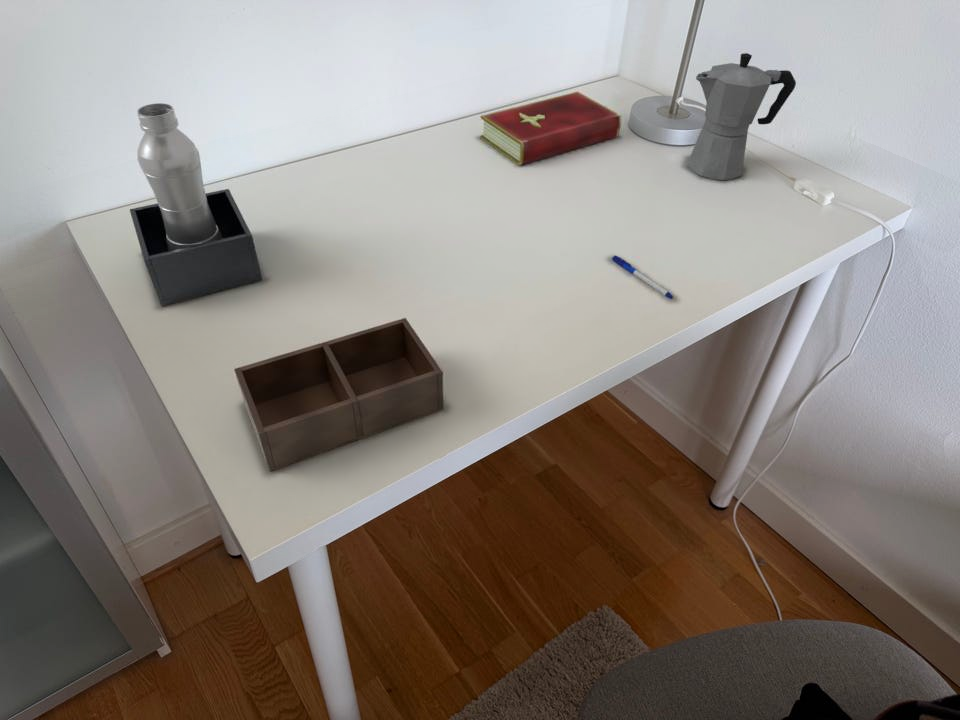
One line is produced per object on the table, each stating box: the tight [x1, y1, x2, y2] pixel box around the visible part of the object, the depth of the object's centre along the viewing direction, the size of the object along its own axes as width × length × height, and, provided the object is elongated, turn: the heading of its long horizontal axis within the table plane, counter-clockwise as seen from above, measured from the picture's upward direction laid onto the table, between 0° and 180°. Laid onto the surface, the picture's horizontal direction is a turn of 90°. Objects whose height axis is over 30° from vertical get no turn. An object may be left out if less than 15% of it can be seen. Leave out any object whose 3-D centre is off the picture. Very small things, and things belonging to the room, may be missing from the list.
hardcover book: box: [479, 91, 622, 167], centre depth 117 cm, size 12×21×4 cm, turn 123°
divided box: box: [233, 317, 444, 472], centre depth 69 cm, size 18×9×5 cm, turn 118°
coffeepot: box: [686, 52, 797, 181], centre depth 106 cm, size 15×9×18 cm, turn 93°
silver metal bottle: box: [136, 102, 223, 251], centre depth 81 cm, size 6×7×20 cm
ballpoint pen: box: [611, 255, 674, 299], centre depth 89 cm, size 10×1×1 cm, turn 38°
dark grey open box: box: [129, 188, 263, 307], centre depth 86 cm, size 12×12×7 cm
